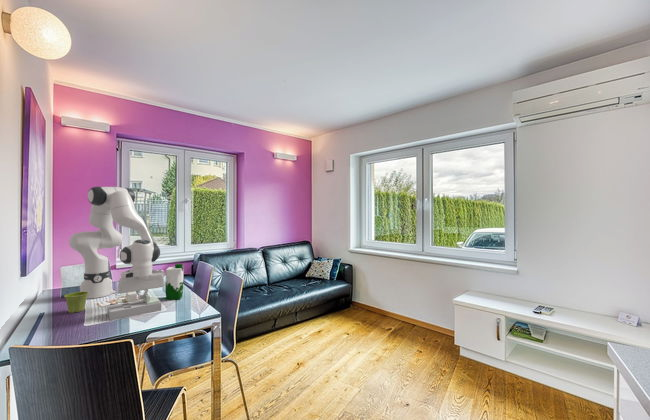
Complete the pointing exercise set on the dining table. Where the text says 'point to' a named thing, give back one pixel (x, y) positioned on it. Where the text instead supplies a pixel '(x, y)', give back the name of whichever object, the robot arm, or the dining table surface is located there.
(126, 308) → the socket
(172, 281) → the milk carton
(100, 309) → the dining table surface
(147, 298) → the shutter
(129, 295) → the plug
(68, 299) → the plant pot
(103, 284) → the robot arm
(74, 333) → the dining table surface
